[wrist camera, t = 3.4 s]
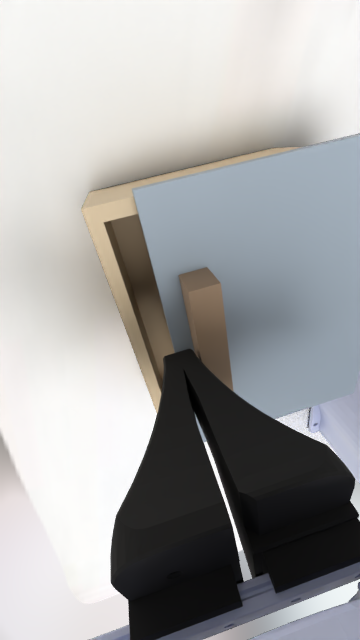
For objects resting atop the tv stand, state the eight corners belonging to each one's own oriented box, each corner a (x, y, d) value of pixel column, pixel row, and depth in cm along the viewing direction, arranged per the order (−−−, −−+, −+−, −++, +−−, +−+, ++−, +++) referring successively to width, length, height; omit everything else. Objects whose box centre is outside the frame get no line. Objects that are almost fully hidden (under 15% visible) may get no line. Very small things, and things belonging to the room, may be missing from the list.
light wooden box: (273, 346, 22) (310, 391, 18) (154, 382, 22) (165, 437, 17) (273, 147, 15) (338, 146, 10) (89, 192, 14) (81, 209, 10)
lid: (347, 386, 18) (373, 412, 16) (196, 435, 17) (206, 468, 16) (405, 122, 10) (469, 116, 8) (131, 188, 9) (137, 197, 8)
